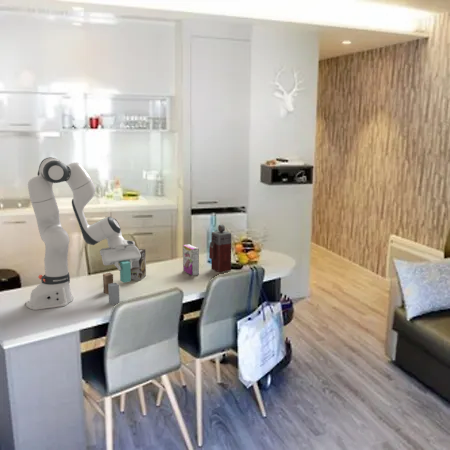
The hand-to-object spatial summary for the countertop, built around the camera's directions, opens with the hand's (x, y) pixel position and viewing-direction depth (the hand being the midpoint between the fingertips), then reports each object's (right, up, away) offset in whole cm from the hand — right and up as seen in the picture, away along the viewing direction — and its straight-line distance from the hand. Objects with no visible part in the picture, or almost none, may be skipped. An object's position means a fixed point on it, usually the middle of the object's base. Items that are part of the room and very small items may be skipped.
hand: (125, 269), depth 262 cm
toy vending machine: (+47, -5, +52) cm, 70 cm away
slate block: (-5, -17, -5) cm, 18 cm away
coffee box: (+1, -8, +35) cm, 36 cm away
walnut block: (-11, -13, +11) cm, 20 cm away
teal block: (-1, -6, +2) cm, 6 cm away
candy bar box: (+30, -6, +45) cm, 55 cm away
